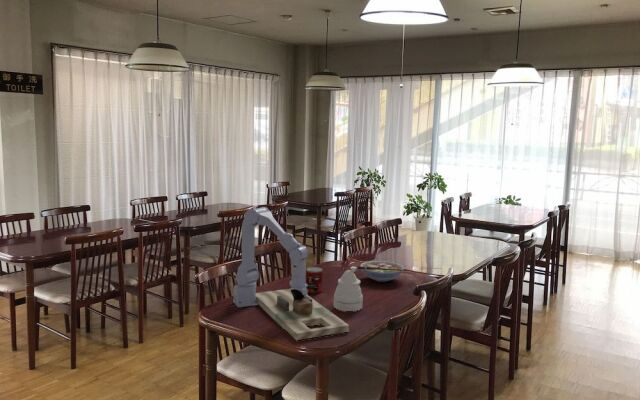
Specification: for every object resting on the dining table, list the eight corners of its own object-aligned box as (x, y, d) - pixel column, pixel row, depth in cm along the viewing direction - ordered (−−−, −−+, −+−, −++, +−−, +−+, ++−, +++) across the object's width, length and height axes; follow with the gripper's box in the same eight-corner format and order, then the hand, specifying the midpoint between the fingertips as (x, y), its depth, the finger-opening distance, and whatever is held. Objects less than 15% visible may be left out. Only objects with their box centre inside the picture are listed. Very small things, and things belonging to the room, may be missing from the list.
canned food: (302, 292, 248) (303, 269, 247) (310, 287, 256) (311, 266, 254) (316, 294, 245) (317, 272, 243) (324, 290, 252) (325, 268, 250)
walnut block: (298, 315, 209) (299, 304, 209) (293, 310, 215) (293, 300, 214) (312, 313, 212) (312, 302, 211) (306, 308, 217) (306, 298, 217)
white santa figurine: (360, 301, 237) (362, 263, 234) (363, 311, 224) (365, 271, 221) (332, 301, 236) (333, 263, 234) (334, 311, 224) (335, 271, 221)
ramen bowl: (404, 275, 282) (404, 260, 280) (406, 287, 259) (407, 272, 258) (358, 272, 284) (358, 258, 283) (356, 285, 261) (357, 269, 260)
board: (296, 341, 191) (296, 324, 190) (253, 299, 236) (253, 285, 235) (348, 332, 201) (349, 316, 200) (297, 293, 245) (297, 280, 245)
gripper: (314, 278, 211) (313, 310, 213) (300, 269, 224) (299, 299, 225) (298, 280, 208) (298, 313, 209) (285, 271, 220) (284, 301, 222)
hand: (297, 306), depth 217 cm, fingers closed
